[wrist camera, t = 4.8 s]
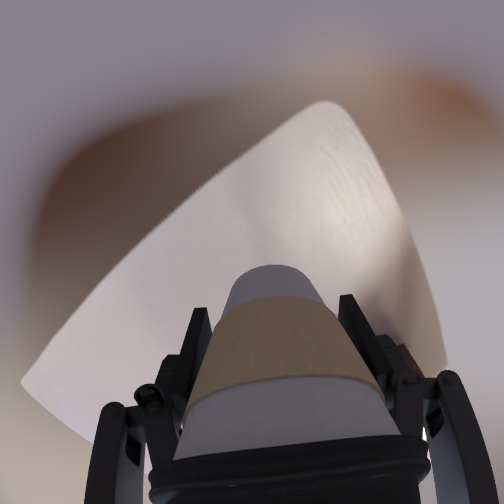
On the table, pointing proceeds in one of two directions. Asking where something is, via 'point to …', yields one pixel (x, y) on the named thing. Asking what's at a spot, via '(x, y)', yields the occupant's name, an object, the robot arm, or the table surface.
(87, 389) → the table surface
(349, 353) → the coffee cup
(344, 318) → the robot arm
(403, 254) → the table surface
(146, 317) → the table surface
